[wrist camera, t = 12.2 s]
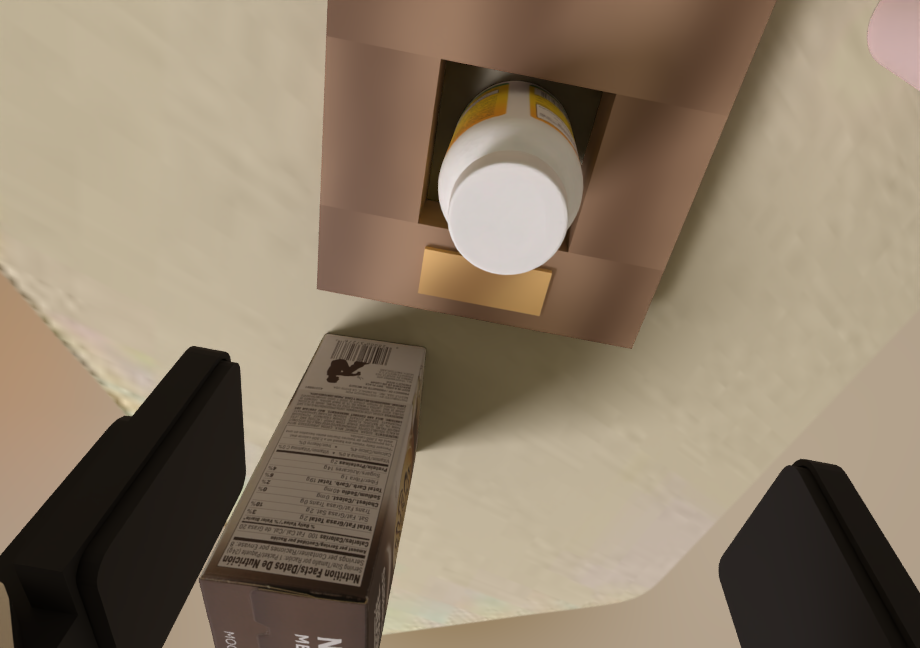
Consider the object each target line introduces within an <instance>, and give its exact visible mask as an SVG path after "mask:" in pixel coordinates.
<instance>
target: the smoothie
mask: <svg viewBox="0 0 920 648" xmlns="http://www.w3.org/2000/svg"><path fill="white" fill-rule="evenodd" d="M867 40H868V47H869V50H870V53H871V55H872V56H873V58H874V59H875V60H876V61H877V62H878V63H879V64H881V65H882V66H883V67H885V68H886V69H888V70H889V71H891V72H892V73H894V74H895V75H897V76H898V77H900V78H901V79H903V80H904V81H906V82H907V83H909V84H910V85H912V86H913V87H915V88H916V89H918V90H919V91H920V0H881V1H880V2H879V4H878V5H877V7H876V9H875V11H874V13H873V15H872V17H871V20H870V23H869V27H868V35H867Z"/></svg>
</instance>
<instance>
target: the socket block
mask: <svg viewBox="0 0 920 648" xmlns="http://www.w3.org/2000/svg"><path fill="white" fill-rule="evenodd" d="M775 3H776V0H328V8H327V34H326V61H325V87H324V114H323V140H322V167H321V194H320V220H319V247H318V273H317V289H319V290H324V291H329V292H335V293H340V294H345V295H350V296H356V297H361V298H366V299H372V300H377V301H382V302H387V303H393V304H398V305H403V306H409V307H414V308H419V309H424V310H430V311H435V312H440V313H446V314H451V315H456V316H461V317H467V318H472V319H477V320H483V321H488V322H493V323H498V324H504V325H509V326H514V327H520V328H525V329H530V330H535V331H541V332H546V333H551V334H557V335H562V336H567V337H572V338H578V339H583V340H588V341H594V342H599V343H604V344H609V345H615V346H620V347H625V348H631V349H632V347H633V344H634V342H635V339H636V337H637V335H638V332H639V330H640V327H641V325H642V323H643V320H644V318H645V315H646V313H647V311H648V308H649V306H650V303H651V301H652V299H653V296H654V294H655V291H656V289H657V287H658V284H659V282H660V279H661V277H662V275H663V272H664V270H665V267H666V265H667V262H668V260H669V258H670V255H671V253H672V250H673V248H674V246H675V243H676V241H677V238H678V236H679V234H680V231H681V229H682V226H683V224H684V222H685V219H686V217H687V214H688V212H689V210H690V207H691V205H692V202H693V200H694V198H695V195H696V193H697V190H698V188H699V186H700V183H701V181H702V178H703V176H704V174H705V171H706V169H707V166H708V164H709V162H710V159H711V157H712V154H713V152H714V149H715V147H716V145H717V142H718V140H719V137H720V135H721V133H722V130H723V128H724V125H725V123H726V121H727V118H728V116H729V113H730V111H731V109H732V106H733V104H734V101H735V99H736V97H737V94H738V92H739V89H740V87H741V85H742V82H743V80H744V77H745V75H746V73H747V70H748V68H749V65H750V63H751V61H752V58H753V56H754V53H755V51H756V48H757V46H758V44H759V41H760V39H761V36H762V34H763V32H764V29H765V27H766V24H767V22H768V20H769V17H770V15H771V12H772V10H773V8H774V5H775ZM447 60H449V61H454V62H459V63H464V64H469V65H474V66H479V67H484V68H489V69H494V70H499V71H504V72H509V73H514V74H519V75H524V76H529V77H534V78H539V79H544V80H549V81H554V82H559V83H564V84H569V85H574V86H579V87H584V88H589V89H594V90H599V91H603V94H602V97H601V101H600V104H599V108H598V111H597V114H596V118H595V121H594V125H593V128H592V132H591V135H590V138H589V142H588V145H587V149H586V152H585V155H584V159H583V162H582V166H581V169H582V175H583V194H582V200H581V204H580V207H579V210H578V213H577V215H576V217H575V219H574V221H573V222H572V224H571V226H570V227H569V228H568V230H567V232H566V235H565V238H564V240H563V242H562V244H561V246H560V247H559V249H558V250H557V252H556V253H555V254H554V255H553V256H552V257H551V258H550V259H549V260H548V261H547V262H545V263H544V264H542V265H541V266H539V267H537V268H535V269H533V270H531V271H528V272H525V273H521V274H514V275H501V274H494V273H490V272H487V271H484V270H482V269H480V268H478V267H476V266H474V265H473V264H471V263H470V262H469V261H468V260H466V259H465V258H464V257H463V256H462V255H461V253H460V252H459V251H458V250H457V248H456V246H455V245H454V243H453V241H452V238H451V235H450V232H449V229H448V222H447V221H446V219H445V217H444V215H443V212H442V209H441V206H440V202H437V201H432V200H427V192H428V185H429V178H430V172H431V165H432V158H433V151H434V144H435V137H436V130H437V123H438V116H439V110H440V103H441V96H442V89H443V82H444V75H445V68H446V61H447Z"/></svg>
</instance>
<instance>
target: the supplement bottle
mask: <svg viewBox="0 0 920 648" xmlns="http://www.w3.org/2000/svg"><path fill="white" fill-rule="evenodd" d="M438 194H439V201H440V206H441V209H442V212H443V215H444V217H445V219H446V221H447V222H448V229H449V232H450V235H451V238H452V241H453V243H454V245H455V246H456V248H457V250H458V251H459V252H460V253H461V255H462V256H463V257H464V258H465V259H466V260H468V261H469V262H470V263H471V264H473V265H474V266H476V267H478V268H480V269H482V270H484V271H487V272H490V273H494V274H501V275H514V274H521V273H525V272H528V271H531V270H533V269H535V268H537V267H539V266H541V265H542V264H544V263H545V262H547V261H548V260H549V259H550V258H551V257H552V256H553V255H554V254H555V253H556V252H557V250H558V249H559V247H560V246H561V244H562V242H563V240H564V238H565V235H566V232H567V230H568V228H569V227H570V226H571V224H572V222H573V221H574V219H575V217H576V215H577V213H578V210H579V207H580V204H581V200H582V194H583V175H582V169H581V164H580V160H579V156H578V152H577V148H576V144H575V140H574V136H573V132H572V127H571V124H570V121H569V118H568V116H567V113H566V111H565V110H564V108H563V106H562V105H561V103H560V102H559V101H558V100H557V99H556V98H555V97H554V96H553V95H552V94H551V93H550V92H548V91H547V90H545V89H544V88H542V87H540V86H538V85H535V84H533V83H529V82H524V81H507V82H502V83H498V84H495V85H493V86H491V87H489V88H487V89H485V90H484V91H482V92H481V93H480V94H478V95H477V96H476V97H475V98H474V99H473V100H472V101H471V102H470V103H469V104H468V105H467V107H466V108H465V109H464V111H463V113H462V115H461V117H460V119H459V121H458V123H457V126H456V129H455V132H454V135H453V137H452V140H451V142H450V145H449V148H448V150H447V153H446V155H445V158H444V160H443V163H442V166H441V170H440V174H439V180H438Z"/></svg>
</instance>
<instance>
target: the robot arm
mask: <svg viewBox="0 0 920 648" xmlns="http://www.w3.org/2000/svg"><path fill="white" fill-rule="evenodd" d="M245 476H246V464H245V446H244V428H243V411H242V393H241V375H240V366H239V364H238V363H235V362H231V359H230V356H229V354H228V353H227V352H223V351H218V350H212V349H207V348H202V347H196V346H192V347H189V348H188V349H187V350H186V351H185V352H184V354H183V355H182V356H181V357H180V359H179V360H178V361H177V362H176V363H175V365H174V366H173V367H172V368H171V370H170V371H169V372H168V373H167V374H166V376H165V377H164V378H163V379H162V381H161V382H160V383H159V384H158V385H157V387H156V388H155V389H154V390H153V392H152V393H151V394H150V395H149V396H148V398H147V399H146V400H145V401H144V403H143V404H142V405H141V406H140V407H139V409H138V410H137V411H136V412H135V414H134V415H133V416H123V417H121V418H119V419H117V420H116V421H115V422H114V423H113V424H112V425H111V426H110V427H109V428H108V429H107V430H106V431H105V433H104V434H103V435H102V436H101V437H100V438H99V440H98V441H97V442H96V443H95V444H94V446H93V447H92V448H91V449H90V450H89V451H88V453H87V454H86V455H85V456H84V457H83V458H82V460H81V461H80V462H79V463H78V465H77V466H76V467H75V468H74V469H73V470H72V472H71V473H70V474H69V475H68V476H67V477H66V479H65V480H64V481H63V482H62V483H61V485H60V486H59V487H58V488H57V489H56V490H55V492H54V493H53V494H52V495H51V496H50V497H49V499H48V500H47V501H46V502H45V503H44V504H43V506H42V507H41V508H40V509H39V510H38V512H37V513H36V514H35V515H34V516H33V518H32V519H31V520H30V521H29V522H28V523H27V524H26V526H25V527H24V528H23V529H22V530H21V532H20V533H19V534H18V535H17V536H16V537H15V539H14V540H13V541H12V542H11V543H10V545H9V546H8V547H7V548H6V549H5V551H4V552H3V553H2V554H1V555H0V648H162V647H163V645H164V643H165V641H166V639H167V637H168V635H169V633H170V631H171V629H172V627H173V625H174V623H175V621H176V619H177V617H178V615H179V613H180V611H181V609H182V607H183V605H184V603H185V601H186V599H187V597H188V595H189V593H190V591H191V589H192V588H193V585H194V583H195V581H196V579H197V578H198V576H199V574H200V572H201V570H202V568H203V566H204V564H205V562H206V560H207V558H208V556H209V554H210V552H211V550H212V548H213V546H214V544H215V542H216V540H217V538H218V536H219V534H220V532H221V530H222V528H223V526H224V524H225V522H226V520H227V519H228V517H229V515H230V513H231V511H232V509H233V507H234V505H235V503H236V501H237V499H238V497H239V495H240V493H241V490H242V488H243V485H244V481H245ZM719 578H720V582H721V584H722V588H723V591H724V594H725V598H726V601H727V604H728V607H729V610H730V613H731V616H732V619H733V623H734V626H735V629H736V632H737V635H738V639H739V642H740V645H741V648H920V593H919V591H918V589H917V588H916V586H915V584H914V583H913V581H912V579H911V578H910V576H909V575H908V573H907V572H906V570H905V568H904V567H903V565H902V563H901V562H900V560H899V558H898V557H897V555H896V554H895V552H894V550H893V549H892V547H891V546H890V544H889V542H888V541H887V539H886V538H885V536H884V534H883V533H882V531H881V529H880V528H879V526H878V525H877V523H876V521H875V520H874V518H873V517H872V515H871V513H870V512H869V510H868V508H867V507H866V505H865V504H864V502H863V501H862V499H861V497H860V496H859V494H858V492H857V491H856V489H855V488H854V486H853V484H852V483H851V481H850V479H849V478H848V476H847V474H846V473H845V472H844V471H843V469H842V468H841V467H839V466H837V465H833V464H828V463H822V462H816V461H812V460H806V459H800V460H798V461H796V462H795V463H794V464H793V465H792V466H791V465H788V466H786V467H785V468H784V469H783V470H782V471H781V472H780V474H779V475H778V477H777V478H776V480H775V481H774V482H773V484H772V485H771V487H770V488H769V490H768V491H767V493H766V494H765V495H764V497H763V498H762V500H761V501H760V503H759V504H758V505H757V507H756V508H755V510H754V511H753V513H752V514H751V516H750V517H749V519H748V520H747V521H746V523H745V524H744V526H743V527H742V528H741V530H740V531H739V533H738V534H737V536H736V537H735V539H734V540H733V541H732V543H731V544H730V546H729V547H728V549H727V550H726V551H725V553H724V554H723V556H722V557H721V559H720V563H719Z"/></svg>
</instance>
